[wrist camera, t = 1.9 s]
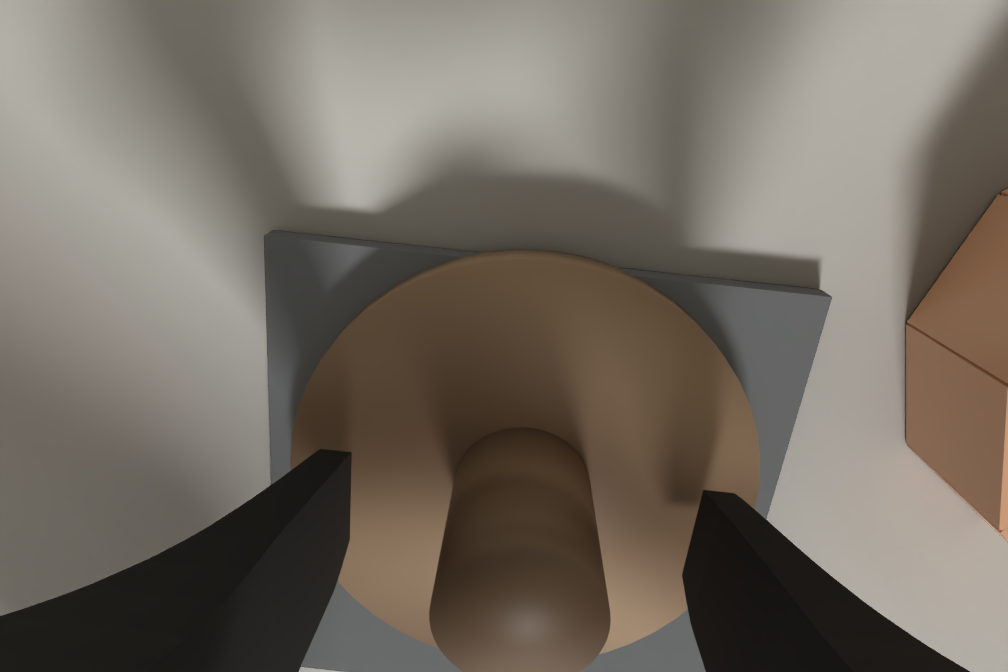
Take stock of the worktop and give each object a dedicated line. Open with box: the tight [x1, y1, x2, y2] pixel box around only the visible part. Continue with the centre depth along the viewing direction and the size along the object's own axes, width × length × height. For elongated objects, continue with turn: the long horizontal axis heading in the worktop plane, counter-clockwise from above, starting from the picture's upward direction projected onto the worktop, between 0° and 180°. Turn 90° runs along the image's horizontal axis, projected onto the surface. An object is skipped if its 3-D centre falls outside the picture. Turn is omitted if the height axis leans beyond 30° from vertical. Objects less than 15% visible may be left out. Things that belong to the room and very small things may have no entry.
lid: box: [290, 250, 760, 672], centre depth 12 cm, size 10×10×4 cm
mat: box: [264, 230, 832, 672], centre depth 15 cm, size 11×11×1 cm
